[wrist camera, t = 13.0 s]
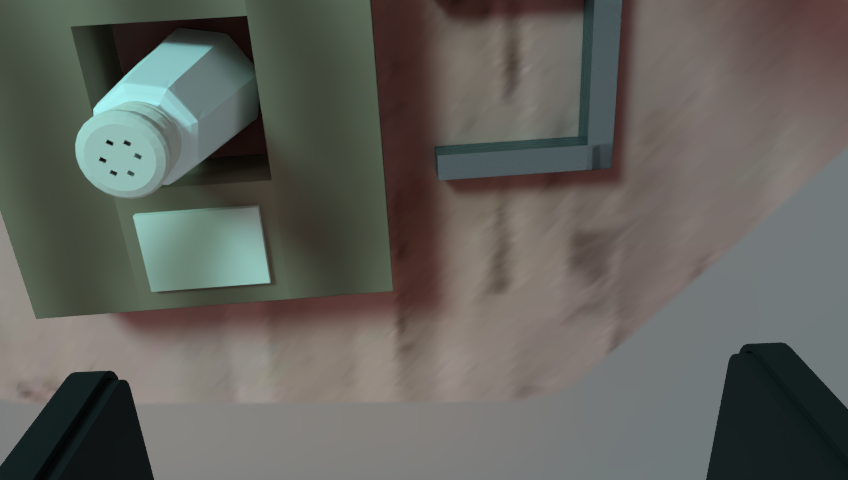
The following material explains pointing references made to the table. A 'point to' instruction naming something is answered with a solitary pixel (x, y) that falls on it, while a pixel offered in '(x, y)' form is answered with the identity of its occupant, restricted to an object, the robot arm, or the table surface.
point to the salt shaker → (168, 114)
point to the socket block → (209, 180)
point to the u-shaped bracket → (593, 119)
